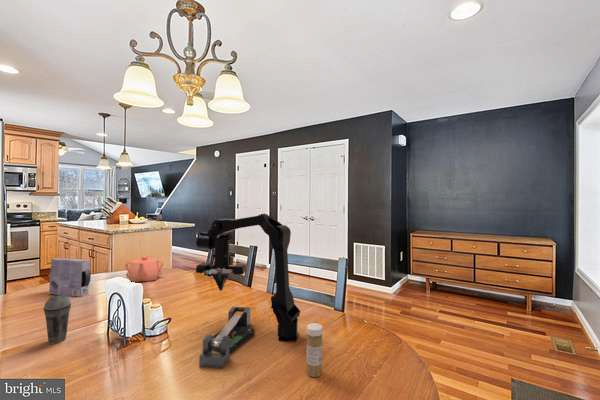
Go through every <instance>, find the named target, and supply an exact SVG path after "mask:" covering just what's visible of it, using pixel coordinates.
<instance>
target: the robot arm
mask: <svg viewBox="0 0 600 400" xmlns="http://www.w3.org/2000/svg"><path fill="white" fill-rule="evenodd" d="M255 226H259V227H260V228H261V230H262V231H263V232H264V233H265V234H266V235H267V236H268V238H269V241H270V246H271V247H272V249H273V252H274V266H275V268H274V270H275V287H276V288H275V289H276V290H275V293H274V294H273V295H271V297H270V303H271V307H270V309H272V312H273V315H275V318H276V321H277V337H278V338H277V340H278V341H280V342H281V341H282V342H297V341H298V337H299V331H298V329H299V327H298V326H299V323H298V322H299V317H300V315H301V310H300V309H299V308H298V306H297V305H296V303H295V299H294V296H293V293H292V291H291V290H290V275H289V273H290V272H289V259H288V257H289V255H288V249H289V246H290V243H291V235H292V232H291V229H290V227H288V225H285V224H282V223H281V222H280V221H278V220H276V219H274V218H272V217H271V216H270V215H269V214H267V213H261V214H258V215H254V216H253V215H252V216H248V217H247V216H246V217H241V218H219V219H217V218H216V219H214V220H213V222H212V224H211V227H210V228H209V229H208V231H202V232H199V236H198V237H197V239H196V241H195V245H196V248H198V249H199V250H209V251H212V250H213V252H214V253H213V254H212V257H213V265H212V263H211V262H201V263H199V264H197V265H196V267H195V273H196V274H203V273H205V272H206V271H210V274H209V276H212V278H213V280H214V281H215V283H216V285H217V288H218V290H219V291H223V289H224V288H225V284H226V282H227V279H228V277H229V276H230V275H232V274H233V275H239V276H240V275H244V274H245V273H246V272H247V265H246V264H245V263H244V264H243V263H236V264H235V265H234V262H235V261H234V259H235V257H233V256H232V255H231V252H230V241H232V240H235V237H234V236H233V235H232V234H231V232H233V231H236V230H237V229H242V228H248V227H255Z"/></svg>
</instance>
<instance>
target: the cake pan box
mask: <svg viewBox="0 0 600 400" xmlns="http://www.w3.org/2000/svg"><path fill="white" fill-rule="evenodd" d="M90 264H91V261H90V259H78V258H77V259H75V258H63V257H56V258H51V261H50V274H49V277H50V278H49V289H48V291H49V292H48V295H50V294H54V295H58V286H59V281H61V283H60V294H62V295H65V296H67V297H75V296H77V298H82V297H85V296H88V295H89V287H90V286H89V285H90V282H91V279H92V278H91V277H92V276H91V271H90V269H91V268H90V266H91V265H90ZM87 294H88V295H87ZM54 295H53V296H54ZM84 295H85V296H84Z"/></svg>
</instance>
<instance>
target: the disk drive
mask: <svg viewBox="0 0 600 400" xmlns="http://www.w3.org/2000/svg"><path fill="white" fill-rule="evenodd" d="M255 329H256V328H251V327H244V326H240V327H238V326H237V325H235V327H234V328H233V330H232V331H231V332H230V334H229V335H228V336H230V341H229V355H231V354H232V353H234V352H235V351H236V350H237V349H239V348H240V347H241V346H242V345H244V344H245V343H247V341H248V340H250V339H251V338H253V337H254V336H255V331H256V330H255ZM221 331H222V329H221V330H219V332H217V333H215V334H214V335H212V341H214V339H215V338H216V337H217V336H218V334H219V333H220V332H221ZM212 351H216V352H219V353H221V348H218V347H212Z"/></svg>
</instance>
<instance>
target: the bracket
mask: <svg viewBox="0 0 600 400" xmlns="http://www.w3.org/2000/svg"><path fill="white" fill-rule="evenodd" d="M236 311H238V312H243V316H242V317H241V318H240V320H239V321H238V322H237V324H236V325H237V326H238V327H240V326H244V327H248V328H250V327H249V326H250V325H251V311H252V309H251V307H249V306H248V307H247V306H246V307H245V306H232V307H231V308H230V309H229V310H228V315H227V317H228V318H227V321H228V322H229V320H230V319H231V318H232V316H233V315H234V313H235V312H236ZM228 322H227V323H228ZM212 336H213V335H212V334H207V335H205V337H204V338H203V339H202V353H201V354H200V355H199V356H198V359H199V360H198V363H199V367H201V368H213V369H214V368H215V369H224V368H225V366H226V364H227V363H228V361H229V359H230V354H229V341H230V336H224V337H223V339H222V340H221V352H220V353H213V350H212V347H211V342H212Z"/></svg>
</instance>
